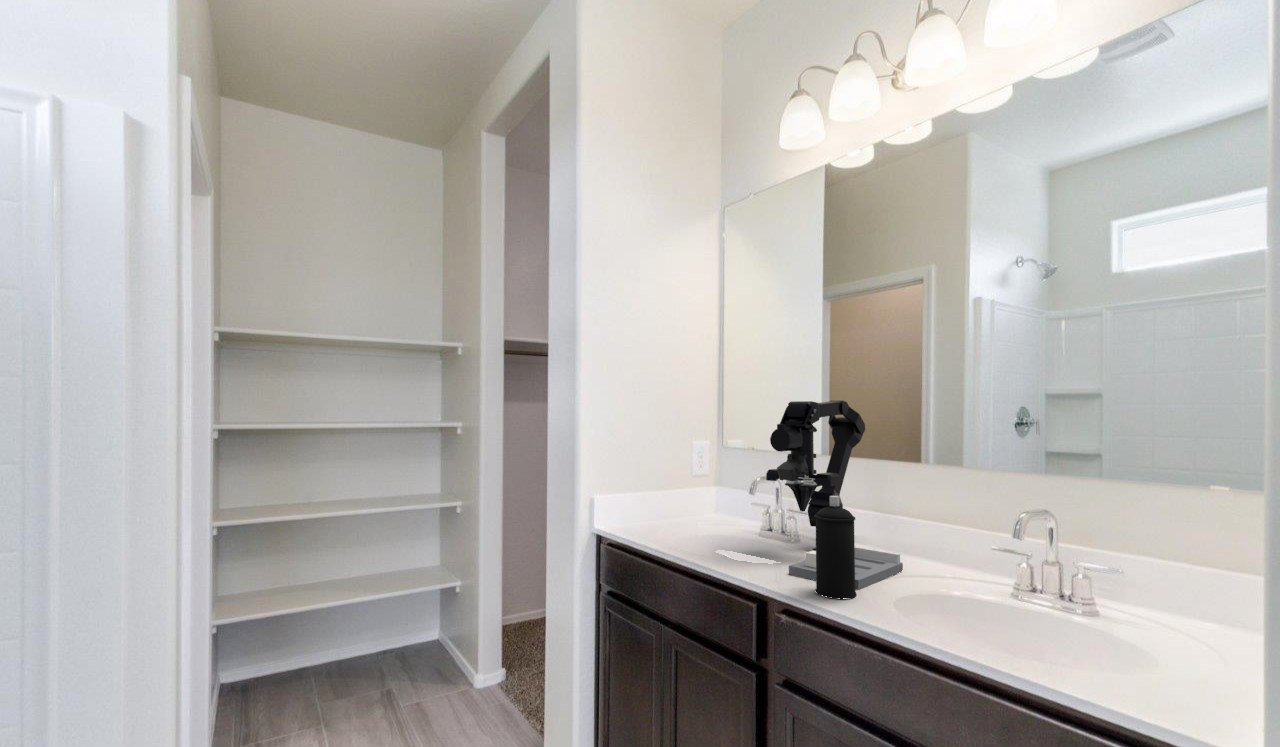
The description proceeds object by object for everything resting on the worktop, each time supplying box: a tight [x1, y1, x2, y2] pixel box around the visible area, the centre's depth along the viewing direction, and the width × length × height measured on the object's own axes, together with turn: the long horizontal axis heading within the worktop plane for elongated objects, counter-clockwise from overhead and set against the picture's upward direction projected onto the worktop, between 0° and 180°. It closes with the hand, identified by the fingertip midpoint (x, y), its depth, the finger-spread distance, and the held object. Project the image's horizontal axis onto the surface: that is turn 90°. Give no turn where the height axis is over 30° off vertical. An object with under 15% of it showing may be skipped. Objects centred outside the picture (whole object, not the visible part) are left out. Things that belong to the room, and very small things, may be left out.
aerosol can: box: [814, 496, 857, 600], centre depth 131 cm, size 8×8×20 cm
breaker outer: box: [805, 550, 816, 568], centre depth 145 cm, size 3×3×3 cm
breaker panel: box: [788, 546, 904, 591], centre depth 147 cm, size 22×17×4 cm
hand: (802, 511), depth 162 cm, fingers closed
